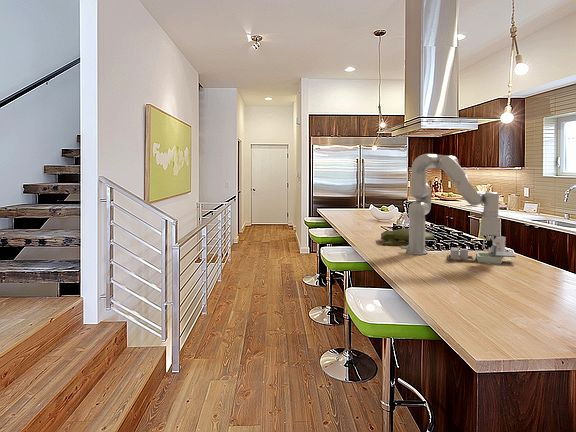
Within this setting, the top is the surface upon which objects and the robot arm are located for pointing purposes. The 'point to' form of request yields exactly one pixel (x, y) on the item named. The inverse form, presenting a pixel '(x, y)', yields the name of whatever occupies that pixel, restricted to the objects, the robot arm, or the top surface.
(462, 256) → the stone
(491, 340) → the top surface
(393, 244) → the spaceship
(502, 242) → the mug
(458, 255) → the stone
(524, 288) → the top surface
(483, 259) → the bin
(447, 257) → the tray
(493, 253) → the bin lid
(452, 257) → the stone
